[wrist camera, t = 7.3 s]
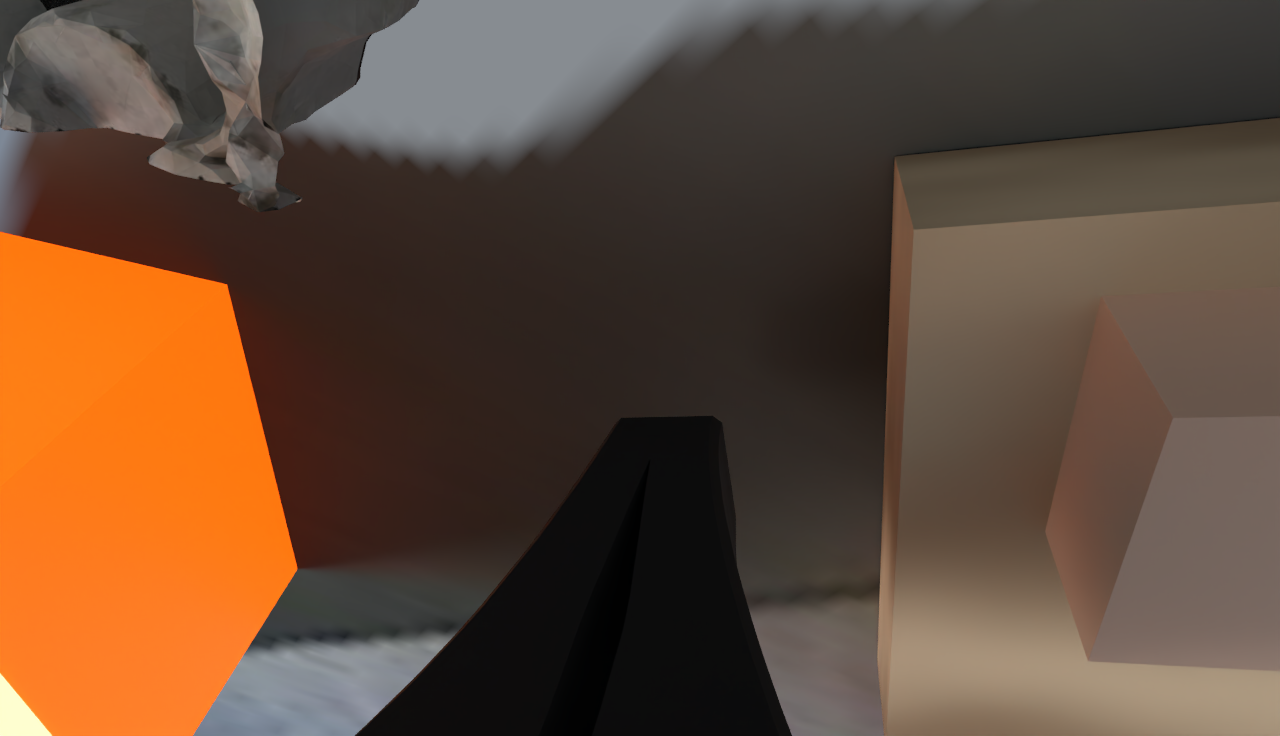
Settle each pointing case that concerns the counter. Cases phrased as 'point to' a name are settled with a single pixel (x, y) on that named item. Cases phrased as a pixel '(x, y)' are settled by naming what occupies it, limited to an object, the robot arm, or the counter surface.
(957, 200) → the flat wooden plank
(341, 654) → the counter surface
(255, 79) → the egg carton
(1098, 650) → the terracotta tile
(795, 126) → the counter surface
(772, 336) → the counter surface
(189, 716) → the orange juice
